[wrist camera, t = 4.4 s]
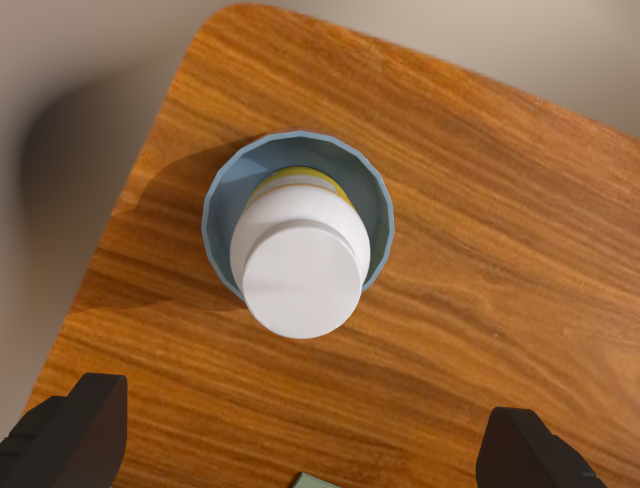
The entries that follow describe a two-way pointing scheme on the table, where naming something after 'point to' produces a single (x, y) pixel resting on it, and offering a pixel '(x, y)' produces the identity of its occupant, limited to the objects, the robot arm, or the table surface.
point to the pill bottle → (300, 253)
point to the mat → (311, 482)
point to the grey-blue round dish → (292, 150)
